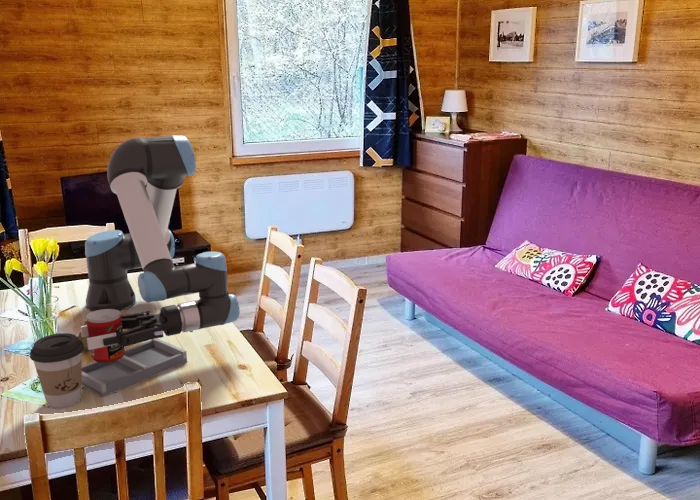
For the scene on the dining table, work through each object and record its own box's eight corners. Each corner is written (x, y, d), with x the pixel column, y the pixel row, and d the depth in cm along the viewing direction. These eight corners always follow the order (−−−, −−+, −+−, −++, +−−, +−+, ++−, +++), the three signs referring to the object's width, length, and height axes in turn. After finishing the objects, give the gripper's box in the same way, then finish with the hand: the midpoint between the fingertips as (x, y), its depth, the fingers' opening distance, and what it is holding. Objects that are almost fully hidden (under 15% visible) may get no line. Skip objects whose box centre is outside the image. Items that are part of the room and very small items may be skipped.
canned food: (114, 364, 155) (109, 321, 152) (84, 361, 156) (78, 319, 153) (131, 351, 162) (126, 309, 159) (102, 348, 163) (97, 307, 160)
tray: (72, 379, 161) (70, 368, 160) (155, 347, 178) (154, 337, 178) (102, 396, 152) (101, 385, 151) (187, 361, 170) (186, 350, 169)
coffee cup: (51, 419, 143) (41, 356, 138) (28, 402, 150) (19, 342, 146) (100, 399, 151) (92, 340, 147) (76, 384, 158) (68, 327, 154)
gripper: (192, 346, 159) (94, 368, 147) (168, 319, 176) (79, 337, 165) (190, 317, 157) (90, 338, 145) (166, 293, 174) (75, 309, 163)
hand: (84, 337), depth 155 cm, fingers closed on canned food, 8 cm apart
